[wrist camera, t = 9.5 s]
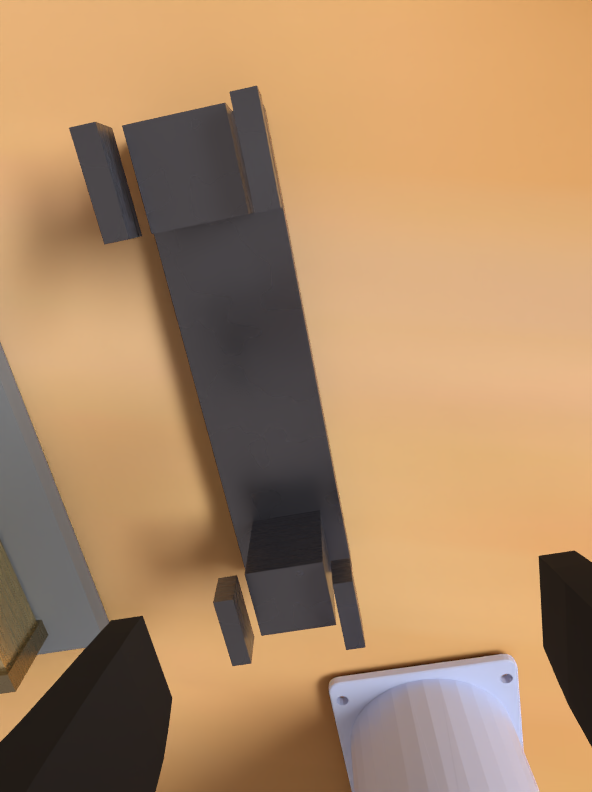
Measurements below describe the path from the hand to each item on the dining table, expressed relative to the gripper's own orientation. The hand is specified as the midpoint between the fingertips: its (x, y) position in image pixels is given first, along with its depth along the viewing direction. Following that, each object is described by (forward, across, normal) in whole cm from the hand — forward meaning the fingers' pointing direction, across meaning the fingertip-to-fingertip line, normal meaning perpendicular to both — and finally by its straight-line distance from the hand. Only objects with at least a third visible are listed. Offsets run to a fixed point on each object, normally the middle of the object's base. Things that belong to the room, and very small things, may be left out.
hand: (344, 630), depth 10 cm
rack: (+10, +2, -2) cm, 11 cm away
